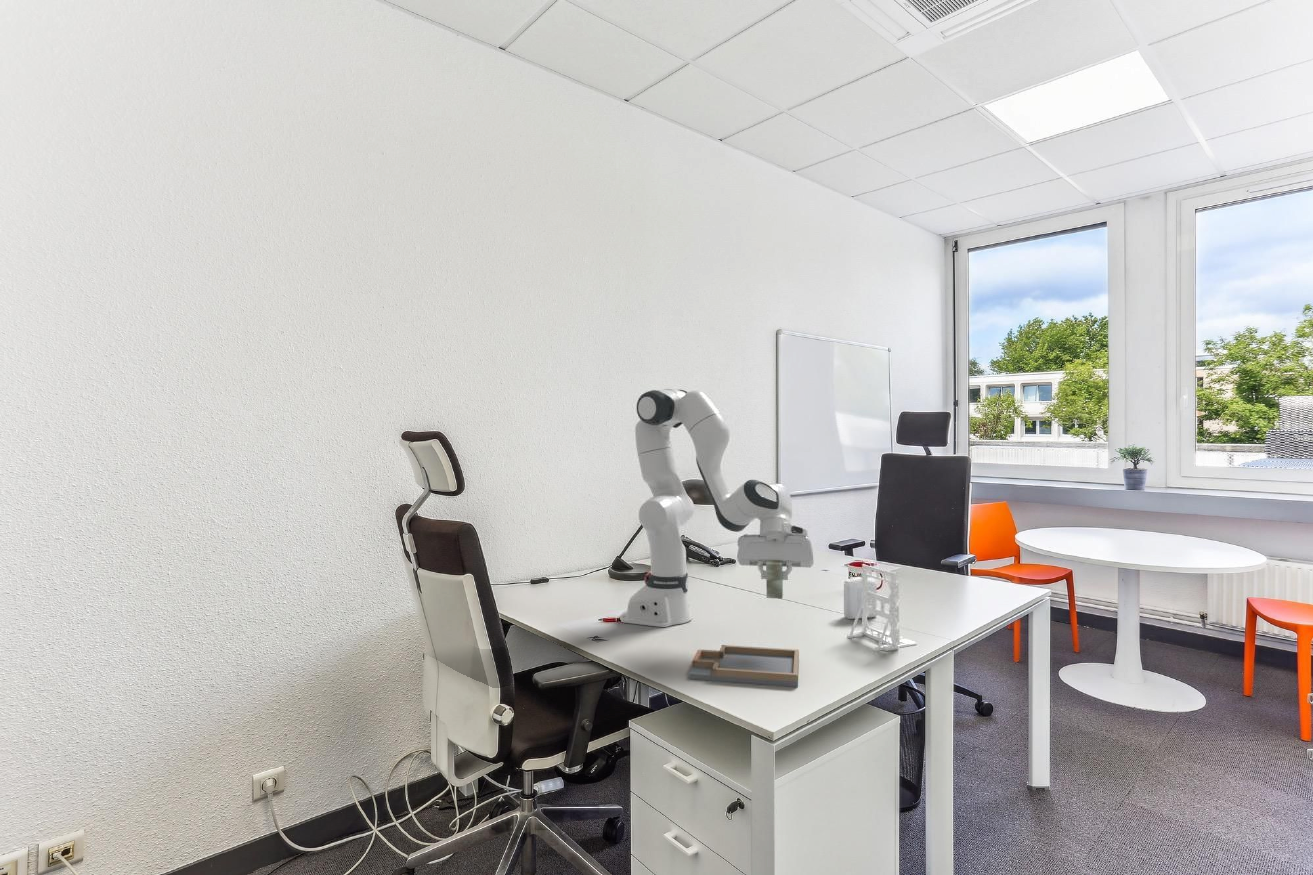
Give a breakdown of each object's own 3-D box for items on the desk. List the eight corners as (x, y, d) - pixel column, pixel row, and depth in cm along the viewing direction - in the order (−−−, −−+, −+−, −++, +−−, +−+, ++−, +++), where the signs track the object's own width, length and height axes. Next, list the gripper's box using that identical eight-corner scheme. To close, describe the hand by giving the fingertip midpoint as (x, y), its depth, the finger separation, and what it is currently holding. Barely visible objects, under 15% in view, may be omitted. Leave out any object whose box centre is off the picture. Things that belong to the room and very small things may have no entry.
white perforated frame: (921, 645, 168) (920, 570, 168) (879, 652, 163) (878, 575, 163) (884, 630, 181) (883, 561, 181) (844, 636, 176) (843, 565, 176)
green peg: (766, 597, 164) (766, 563, 164) (767, 594, 168) (767, 560, 168) (782, 598, 163) (781, 564, 163) (782, 594, 167) (782, 561, 167)
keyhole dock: (689, 678, 148) (688, 667, 148) (701, 654, 164) (700, 643, 164) (797, 686, 142) (797, 674, 142) (799, 660, 158) (798, 649, 158)
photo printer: (871, 613, 198) (870, 574, 198) (879, 617, 194) (878, 577, 194) (841, 616, 195) (841, 576, 195) (849, 620, 191) (848, 579, 191)
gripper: (737, 527, 175) (733, 570, 165) (812, 529, 170) (813, 573, 161) (739, 541, 179) (735, 583, 170) (812, 542, 174) (813, 586, 165)
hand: (774, 578), depth 165 cm, fingers closed on green peg, 4 cm apart
